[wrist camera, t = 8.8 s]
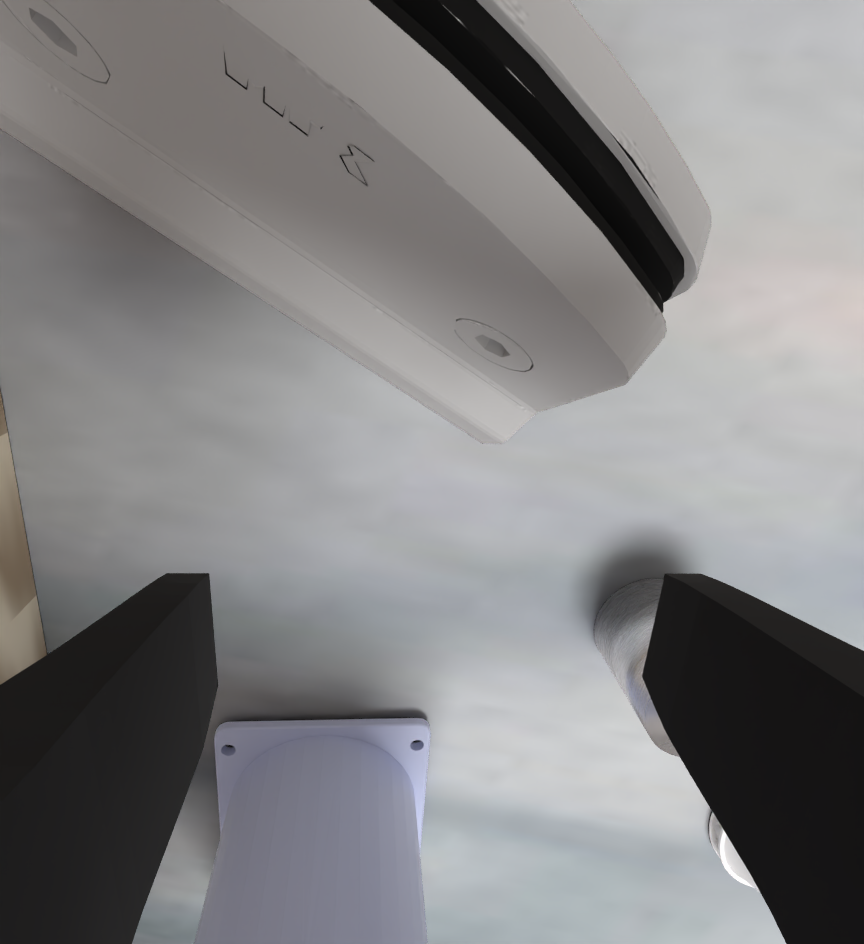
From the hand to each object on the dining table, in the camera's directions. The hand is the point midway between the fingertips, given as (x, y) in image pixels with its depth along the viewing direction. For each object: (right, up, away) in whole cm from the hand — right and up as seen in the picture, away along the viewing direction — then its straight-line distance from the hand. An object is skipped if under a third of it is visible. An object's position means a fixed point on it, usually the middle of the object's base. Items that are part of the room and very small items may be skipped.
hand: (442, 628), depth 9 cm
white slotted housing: (-3, +11, +7) cm, 13 cm away
